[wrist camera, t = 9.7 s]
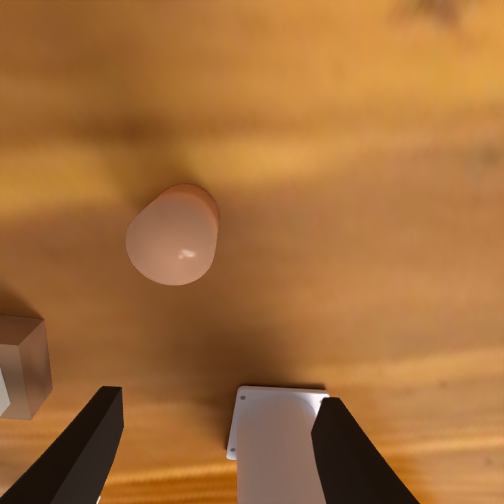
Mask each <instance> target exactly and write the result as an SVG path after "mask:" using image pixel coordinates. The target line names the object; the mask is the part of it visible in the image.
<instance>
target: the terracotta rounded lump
mask: <svg viewBox="0 0 504 504" xmlns="http://www.w3.org/2000/svg"><path fill="white" fill-rule="evenodd" d="M219 221H220V214H219V209H218V206H217V204H216V202H215V200H214V199H213V197H212V196H211V195H210V194H209V193H208V192H207V191H205V190H204V189H202V188H200V187H198V186H195V185H191V184H178V185H175V186H172V187H170V188H168V189H166V190H165V191H164V192H163V193H162V194H160V195H159V196H158V197H157V198H156V199H155V200H154V201H153V202H151V203H150V204H149V205H148V206H147V207H146V208H145V209H143V210H142V211H141V212H140V213H139V214H138V215H137V216H136V217H135V218H134V219H133V220H132V222H131V223H130V225H129V227H128V229H127V233H126V240H125V244H126V250H127V254H128V256H129V259H130V260H131V262H132V264H133V265H134V266H135V268H136V269H137V270H138V271H139V272H140V273H142V274H143V275H144V276H145V277H147V278H149V279H151V280H152V281H155V282H157V283H161V284H165V285H184V284H188V283H191V282H193V281H195V280H197V279H199V278H200V277H201V276H203V275H204V274H205V273H206V272H207V270H208V269H209V268H210V266H211V264H212V262H213V259H214V255H215V248H216V241H217V235H218V228H219Z"/></svg>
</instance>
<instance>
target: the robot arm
mask: <svg viewBox="0 0 504 504" xmlns="http://www.w3.org/2000/svg"><path fill="white" fill-rule="evenodd" d="M123 428H124V420H123V402H122V387H111V386H102V387H101V388H100V389H99V390H98V391H97V392H96V394H95V395H94V396H93V397H92V399H91V400H90V401H89V402H88V403H87V405H86V406H85V407H84V408H83V409H82V411H81V412H80V413H79V414H78V415H77V416H76V418H75V419H74V420H73V421H72V422H71V423H70V424H69V426H68V427H67V428H66V429H65V430H64V431H63V432H62V433H61V435H60V436H59V437H58V438H57V439H56V440H55V441H54V442H53V443H52V444H51V446H50V447H49V448H48V449H47V450H46V451H45V452H44V453H43V454H42V455H41V456H40V458H39V459H38V460H37V461H36V462H35V463H34V464H33V465H32V466H31V467H30V468H29V469H28V470H27V471H26V472H25V473H24V474H23V475H22V476H21V477H20V478H19V479H18V480H17V481H16V482H15V483H14V484H13V485H12V486H11V487H10V488H9V489H8V490H7V492H6V493H4V494H3V495H2V496H1V497H0V504H96V503H97V501H98V498H99V496H100V494H101V491H102V489H103V486H104V484H105V481H106V479H107V476H108V474H109V471H110V469H111V466H112V464H113V461H114V458H115V454H116V451H117V448H118V445H119V441H120V438H121V435H122V431H123ZM226 457H227V458H228V459H234V460H237V504H420V503H419V502H418V501H417V500H416V498H415V497H414V496H413V495H412V494H411V492H410V491H409V490H408V489H407V487H406V486H405V485H404V484H403V483H402V481H401V480H400V479H399V478H398V476H397V475H396V474H395V473H394V471H393V470H392V469H391V468H390V466H389V465H388V464H387V462H386V461H385V460H384V458H383V457H382V456H381V454H380V453H379V452H378V450H377V449H376V448H375V447H374V445H373V444H372V442H371V441H370V440H369V438H368V437H367V436H366V434H365V433H364V432H363V430H362V429H361V427H360V426H359V425H358V423H357V422H356V420H355V419H354V418H353V416H352V415H351V413H350V412H349V411H348V409H347V408H346V406H345V405H344V404H343V402H342V401H341V400H340V398H335V397H329V393H328V391H326V390H314V389H295V388H276V387H257V386H241V387H239V388H238V390H237V396H236V401H235V407H234V413H233V418H232V424H231V429H230V435H229V441H228V446H227V452H226Z"/></svg>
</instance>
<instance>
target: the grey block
mask: <svg viewBox="0 0 504 504" xmlns="http://www.w3.org/2000/svg"><path fill="white" fill-rule="evenodd" d="M9 405H10V401H9V397H8V393H7V390H6V386H5V383H4V379H3V376H2V372H1V369H0V416H1V415H2V414H3V412H4V411H5V410H6V409H7V407H8V406H9Z"/></svg>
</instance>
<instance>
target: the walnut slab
mask: <svg viewBox="0 0 504 504" xmlns="http://www.w3.org/2000/svg"><path fill="white" fill-rule="evenodd" d="M0 369H1V372H2V376H3V379H4V383H5V386H6V390H7V393H8V397H9V401H10V405H9V406H8V407H7V409H6V410H5V411H4V412H3V414H2V415H1V416H0V418H3V419H18V420H32V418H33V417H34V415H35V414H36V413H37V411H38V410H39V408H40V407H41V405H42V404H43V402H44V401H45V400H46V398H47V397H48V395H49V394H50V392H51V391H52V390H53V388H52V380H51V371H50V363H49V354H48V346H47V337H46V329H45V320H44V319H36V318H27V317H18V316H9V315H1V314H0Z"/></svg>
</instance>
